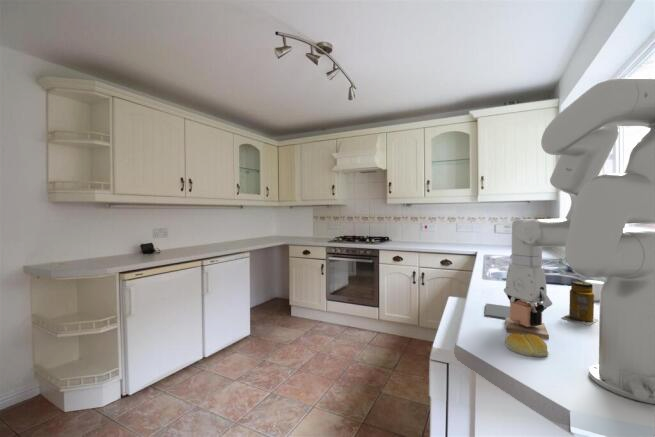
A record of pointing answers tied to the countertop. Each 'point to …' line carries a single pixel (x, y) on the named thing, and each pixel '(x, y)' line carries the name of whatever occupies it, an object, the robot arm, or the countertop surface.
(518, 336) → the bread roll
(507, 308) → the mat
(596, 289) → the shot glass
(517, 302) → the peach rounded block
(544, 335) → the post base
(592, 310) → the condiment
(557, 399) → the countertop surface
